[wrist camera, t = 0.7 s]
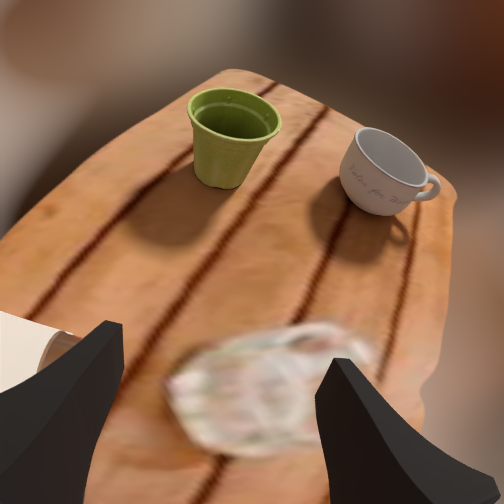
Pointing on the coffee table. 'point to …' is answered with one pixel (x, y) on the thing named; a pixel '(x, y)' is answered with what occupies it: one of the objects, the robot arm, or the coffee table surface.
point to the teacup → (384, 173)
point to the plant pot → (229, 134)
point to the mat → (21, 348)
